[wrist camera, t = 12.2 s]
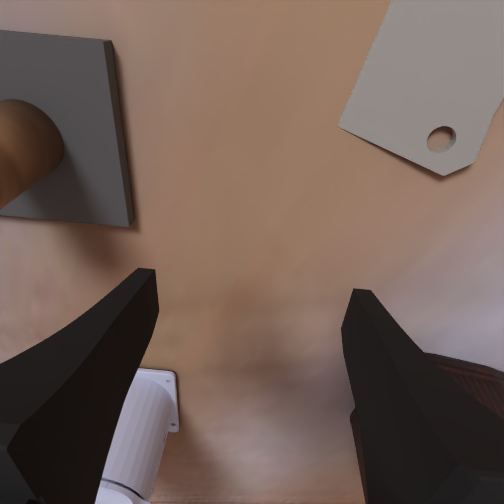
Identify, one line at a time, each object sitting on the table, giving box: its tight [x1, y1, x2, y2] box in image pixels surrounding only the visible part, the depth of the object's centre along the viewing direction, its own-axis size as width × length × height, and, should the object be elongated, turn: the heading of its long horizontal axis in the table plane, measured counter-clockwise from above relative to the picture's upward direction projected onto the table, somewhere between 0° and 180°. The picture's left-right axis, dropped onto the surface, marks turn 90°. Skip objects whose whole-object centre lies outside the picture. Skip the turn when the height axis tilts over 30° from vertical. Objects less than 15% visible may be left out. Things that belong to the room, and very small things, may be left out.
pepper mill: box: [350, 353, 504, 504], centre depth 23 cm, size 16×11×18 cm
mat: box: [0, 30, 134, 227], centre depth 20 cm, size 10×10×1 cm
